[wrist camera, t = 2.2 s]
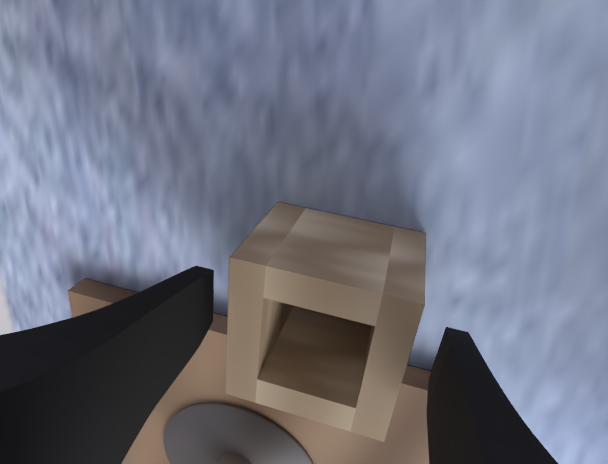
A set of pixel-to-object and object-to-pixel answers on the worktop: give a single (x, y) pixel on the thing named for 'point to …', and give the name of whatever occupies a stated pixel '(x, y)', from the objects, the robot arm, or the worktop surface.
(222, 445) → the post board
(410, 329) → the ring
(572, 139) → the worktop surface
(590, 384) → the worktop surface
